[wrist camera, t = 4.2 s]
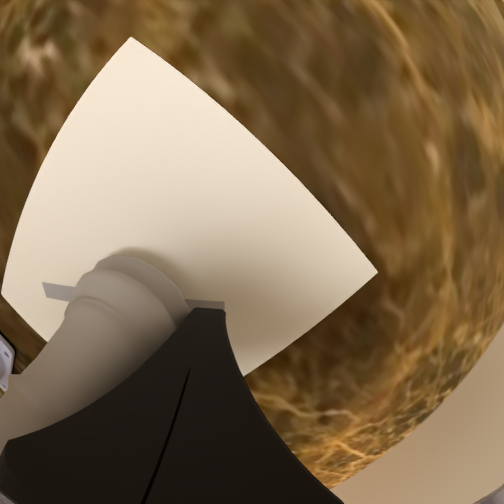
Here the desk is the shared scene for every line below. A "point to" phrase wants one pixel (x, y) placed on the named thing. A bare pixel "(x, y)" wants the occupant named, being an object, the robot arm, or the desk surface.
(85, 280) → the rook chess piece
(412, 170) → the desk surface
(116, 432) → the robot arm
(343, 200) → the desk surface
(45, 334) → the paper
